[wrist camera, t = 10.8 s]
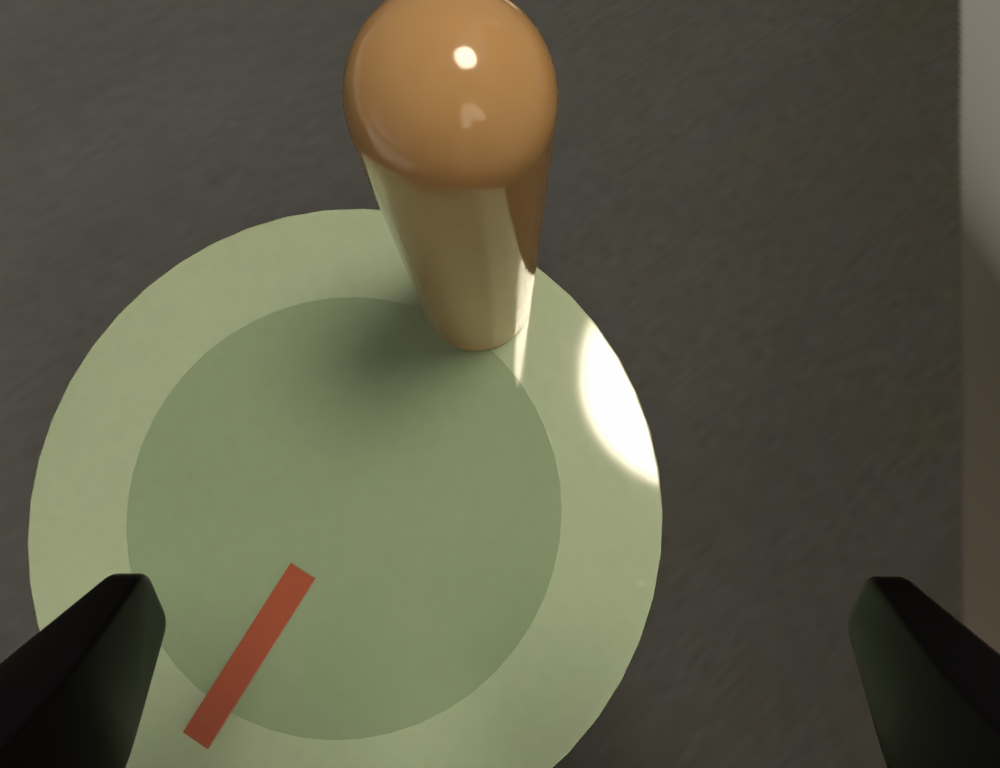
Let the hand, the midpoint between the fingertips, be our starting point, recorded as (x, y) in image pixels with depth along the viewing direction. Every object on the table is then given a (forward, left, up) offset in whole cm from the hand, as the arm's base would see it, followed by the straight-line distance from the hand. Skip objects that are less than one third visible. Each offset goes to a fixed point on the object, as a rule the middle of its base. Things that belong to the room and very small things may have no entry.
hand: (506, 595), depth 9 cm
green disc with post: (+3, +3, -12) cm, 13 cm away
